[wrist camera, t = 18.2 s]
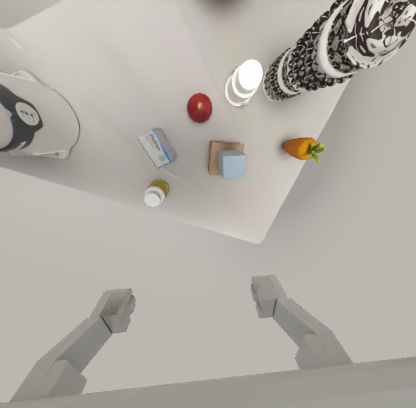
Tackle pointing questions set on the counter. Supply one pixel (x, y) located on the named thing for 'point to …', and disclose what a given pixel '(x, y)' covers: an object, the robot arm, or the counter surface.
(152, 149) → the medicine box
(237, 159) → the slate pillar
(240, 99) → the downlight
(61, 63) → the counter surface
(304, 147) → the carrot
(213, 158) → the walnut block
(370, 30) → the decorative candle
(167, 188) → the supplement bottle
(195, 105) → the red round fruit
